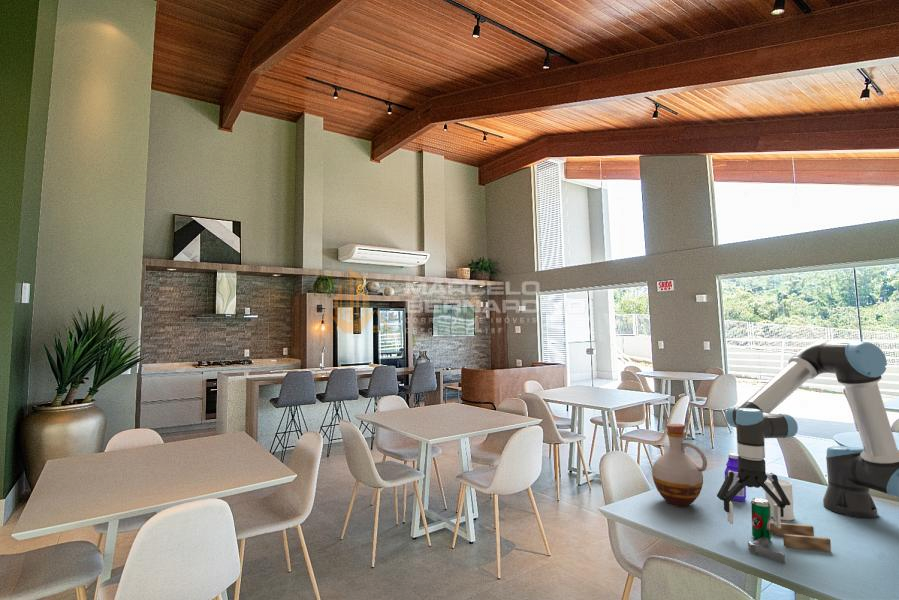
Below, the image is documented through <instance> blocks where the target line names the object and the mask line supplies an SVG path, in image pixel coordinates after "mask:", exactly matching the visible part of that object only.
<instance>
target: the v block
mask: <svg viewBox="0 0 899 600" xmlns="http://www.w3.org/2000/svg"><path fill="white" fill-rule="evenodd" d="M747 547H748V549H747V550H748V551H749V552H750V554H753V555H754V554H756V555H759V556H761V557H763V558H767V559H769V560H772V561H774V562H777V563H779V564H782V563H783V564H782V565H784V564H786V555H785V553H784V552H781V551H778V550H775V549H772V548H770V547H769V541H768V538H767V537H761V538H759V539H755V540H753V541H747Z"/></svg>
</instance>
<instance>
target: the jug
mask: <svg viewBox="0 0 899 600" xmlns="http://www.w3.org/2000/svg"><path fill="white" fill-rule="evenodd" d="M665 426H666V429H667V431H666V435H667V437H668V441H669V444H668V445H669V448H668V450H666V451H665V452H664V453H663V454H662V455H661V456H659V457H658V458H657V459H656V460H654V463H653V464H652V467H651V475H652V480H653V483H654V486H655V487H656V490H657V492H658V493H659V495H660V496H661V498H663V499H664V501H665V502H666V503H667V504H668V505H670V506H673V507H678V508H688V507H690V506H691V505H692V504H693V503H694V502H695V501H696V500H697V498H699V496H700V493H701V491H702V488H703V485H704V475H703V472H704V471H706V470H707V466H708V460H707V457H706V455H705V453H704V452H703V451H702V449H700V448H699V447H698V446H697V445H695V444H694V443H691V442H684V438H685V436H686V433H685V428H686V425H685V424H683V423H682V424H681V423H667V424H665ZM686 447H688V448H691V449H693V450H695V451H696V452H697V453H698V454H699V456H700V457H701V460H702V465H701V467H700V466H699V464H697V463H696V462H695V461H694V459H692V458H691V457H690V456H689V455H688V454H687V452H685V448H686Z"/></svg>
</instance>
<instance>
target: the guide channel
mask: <svg viewBox="0 0 899 600" xmlns="http://www.w3.org/2000/svg"><path fill="white" fill-rule="evenodd" d="M814 531H815V529H814V526H813V525H810V524H801V523H800V524H798V523H787V522H781V529H780V528H777V527H776V526H775V525H774V521H771V535H774V536H775V535H776V536H782V539H783V540H782V541H783V546H784V547H785V548H791V549H800V550H801V549H802V550H809V551H810V550H812V551H813V550H814V551H821V552H822V551H823V552H832V544H831V543H832V542H831V539H830V537H825V536H824V537H823V536H815V532H814Z"/></svg>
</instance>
